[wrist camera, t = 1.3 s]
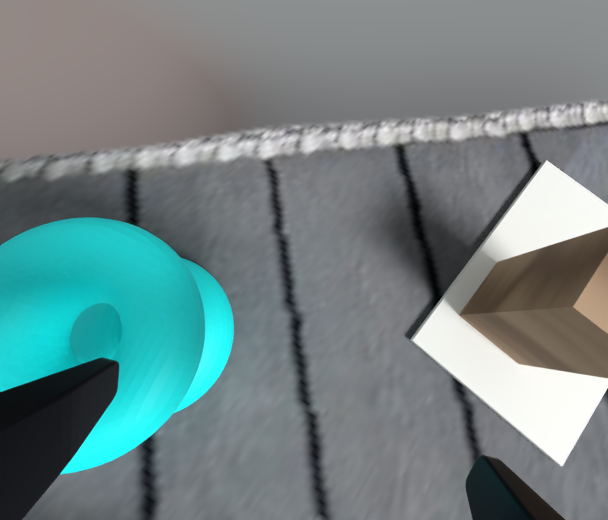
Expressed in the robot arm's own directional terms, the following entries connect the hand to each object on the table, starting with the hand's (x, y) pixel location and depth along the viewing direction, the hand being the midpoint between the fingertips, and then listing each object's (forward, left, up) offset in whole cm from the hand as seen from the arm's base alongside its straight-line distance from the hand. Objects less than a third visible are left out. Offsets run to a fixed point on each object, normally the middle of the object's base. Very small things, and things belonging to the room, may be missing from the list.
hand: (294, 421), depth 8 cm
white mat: (-8, -17, -14) cm, 24 cm away
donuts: (+7, +6, -14) cm, 17 cm away
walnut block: (-6, -14, -13) cm, 20 cm away
